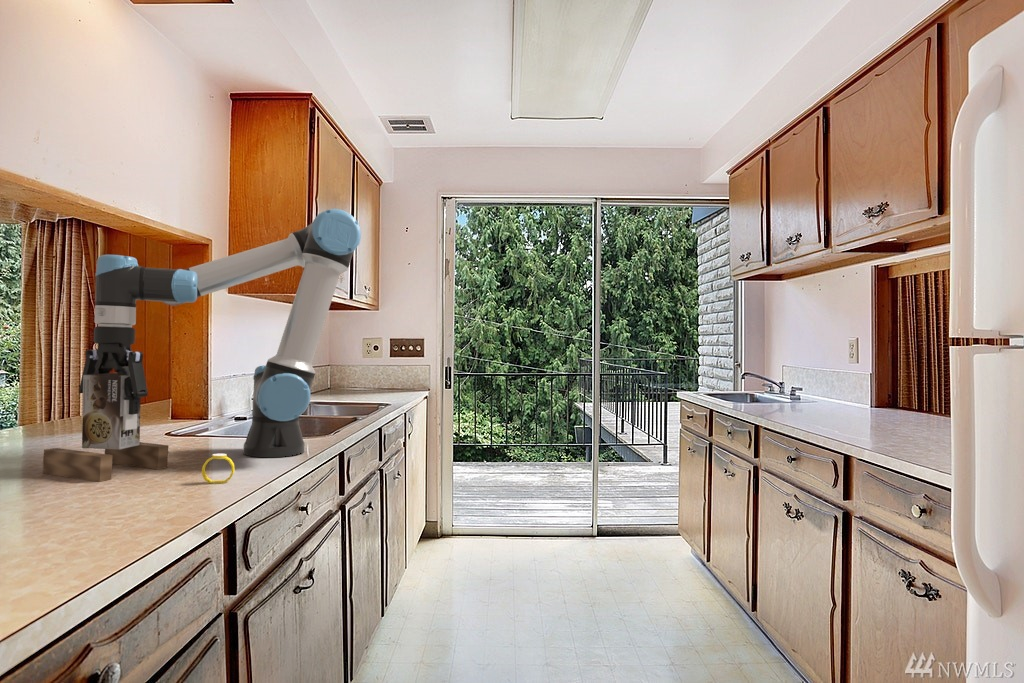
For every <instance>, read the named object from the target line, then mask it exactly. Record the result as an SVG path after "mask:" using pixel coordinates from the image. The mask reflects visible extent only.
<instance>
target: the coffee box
mask: <svg viewBox="0 0 1024 683" xmlns="http://www.w3.org/2000/svg"><path fill="white" fill-rule="evenodd" d="M82 375H83V374H82ZM129 376H130V375H118V373H117V372H109V373H100V374H85V375H83V393H82V421H81V422H82V426H81V428H82V429H81V433H82V435H81V439H82V440H81V448H82V449H94V450H95V449H96V450H105V449H124V448H129V447H133V446H138V445H139V444H140V442H141V441H140V435H141V434H140V433H141V405H142V404H141V403H142V402H141V401H142V397H141V398H140V399H139V413H138V414H137V429H131V430H123V406H124V400H125V399H124V398H126V397H127V396H126V394H125V391H124V380H125V378H127V377H129ZM140 391H141V390H140ZM132 393H133V392H132Z"/></svg>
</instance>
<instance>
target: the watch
mask: <svg viewBox="0 0 1024 683" xmlns="http://www.w3.org/2000/svg"><path fill="white" fill-rule="evenodd" d="M227 454H228V453H213V454H211V457H208V459H206V460H205V462H204V463H203V465H202V468H201V475H202V478H203V480H205V481H206V482H207V483H208V484H226V483H227V482H228V481H230V480H231V479H232V477H233V476H234V473H235V470H236V469H235V463H234V462H233V460H232V459H231V458H230V457H228V456H227ZM212 460H225V461H227V462H228V463H229V465H230V467H231V472H230V475H229V477H227V478H226V479H223V480H219V479H217V480H212V479H211V478H209V477H208V475H207V474H206V467H207V465H208V463H209V462H210V461H212Z"/></svg>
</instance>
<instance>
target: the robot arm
mask: <svg viewBox="0 0 1024 683" xmlns="http://www.w3.org/2000/svg"><path fill="white" fill-rule="evenodd" d="M361 238H362V231H361V227H360V225H359V222H358V221H357V219H356V218H355V217H354V216H353V215H352V214H351V213H349V212H348V211H345V210H344V209H343V210H342V209H339V208H330V209H327V210H323V211H322V212H320V213H318V214H317V215H315V218H314V219H313V221H312V222H311V223H310V224H308V225H306V227H304V228H302V229H300V230H296V231H294V232H290V233H289V235H288V236H287V238H284V239H281V240H278V241H277V240H276V241H274V242H271V243H268V244H264V245H262V246H261V245H259V246H257V247H254V248H251V249H248V250H245V251H244V250H243V251H241V252H238V253H237V252H236V253H234V254H232V255H227V256H225V257H220V258H218V259H214V260H212V261H207V262H204V263H202V264H201V263H200V264H198V265H195V266H191V267H187V268H184V269H182V268H177V269H175V268H161V267H160V268H159V267H158V268H157V267H145V266H141V265H139V264H138V260H137V258H136V257H133V256H127V255H120V254H102V255H100V256H99V257H98V258H96V259H97V261H96V271H95V275H94V277H95V280H94V283H95V284H94V285H95V286H94V287H95V288H94V289H95V290H94V291H95V292H94V295H95V296H94V323H95V324H96V325H97V326H95V327H94V328H93V343H95V344H97V345H98V346H97V349H87V350H86V351H85V362H84V363H85V364H84V366H83V370H82V371H83V372H82V375H81V380H80V383H79V388H78V392H79V394H83V375H85V374H100V373H111V371H113V370H114V373H118V375H130V376H129V377H127V378H125V380H124V391H125V394H126V396H127V397H126V398H124V399H125V400H124V406H123V430H131V429H137V414H138V413H139V399H140V398H141V399H142V398H144V397H148V395H149V393H148V387H147V382H146V380H147V379H146V376H145V375H146V374H145V370H144V364H143V362H144V361H143V359H144V353H143V351H133V350H132V348H131V347H132V346H131V345H134V344H135V342H136V329H135V327H133V326H135V325H136V323H137V301H147V302H148V301H149V302H162V303H163V304H166V305H168V306H178V305H182V304H186V303H187V304H188V303H195V302H196V301H197V300H198V298H200V297H203V296H206V295H210V294H213V293H215V292H219V291H221V290H225V289H228V288H231V287H235V286H237V285H241V284H245V283H247V282H250V281H253V280H256V279H259V278H263V277H266V276H269V275H273V274H275V273H278V272H281V271H284V270H288V269H291V268H293V267H297V266H299V267H301V268H303V271H302V275H301V278H300V280H299V283H298V288H297V290H296V293H295V296H294V298H293V303H292V305H291V308H290V311H289V315H288V318H287V320H286V324H285V326H284V330H283V333H282V335H281V336H282V337H281V339H280V342H279V345H278V348H277V352H276V354H275V355H274V356H272V357H270V358H268V359H267V361H266V363H265V365H259V366H257V367H255V370H254V374H253V377H252V378H253V394H252V395H253V399H252V415H251V425H250V428H249V431H248V433H247V436H246V439H245V442H244V443H243V450H242V453H243V455H246V456H248V457H255V458H256V457H257V458H286V457H292V455H293V456H297V455H296V454H298V455H301V454H304V452H305V442H304V438H303V433H302V430H301V427H300V416H301V415H302V414H304V413H305V411H306V410H307V409H308V407H309V405H310V402H311V396H312V395H311V388H312V386H313V382H314V378H315V375H316V373H317V372H316V370H315V369H314V366H313V361H314V357H315V354H316V352H317V347H318V345H319V342H320V338H321V335H322V332H323V329H324V326H325V322H326V319H327V316H328V314H329V310H330V307H331V304H332V300H333V297H334V294H335V291H336V288H337V284H338V281H339V278H340V275H342V274H343V273H345V272H347V271H348V270H349V267H350V264H351V260H352V259H353V258H352V257H353V255H354V251H356V249H357V248H358V247H359V245H360V242H361ZM140 390H141V391H140ZM132 392H133V393H132ZM300 453H301V454H300ZM285 456H286V457H285Z"/></svg>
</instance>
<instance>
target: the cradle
mask: <svg viewBox="0 0 1024 683" xmlns="http://www.w3.org/2000/svg"><path fill="white" fill-rule="evenodd" d="M42 459H43V462H42V474H44V475H51V476H56V477H63V478H64V477H65V478H70V479H79V480H84V481H85V480H86V481H92V482H98V483H99V482H106V481H110V480H112V475H113V474H112V473H113V470H112V469H113V464H115V465H122V466H129V467H138V468H144V469H145V468H146V469H153V470H161V469H166V468H168V465H169V463H168V462H169V461H168V460H169V445H168V444H162V443H160V444H158V443H150V442H141V441H140V444H139V445H138V446H133V447H129V448H124V449H104V453H99V452H91V451H84V450H75V449H69V448H62V447H61V448H60V447H54V448H53V447H52V448H46V449H43V458H42Z"/></svg>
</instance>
